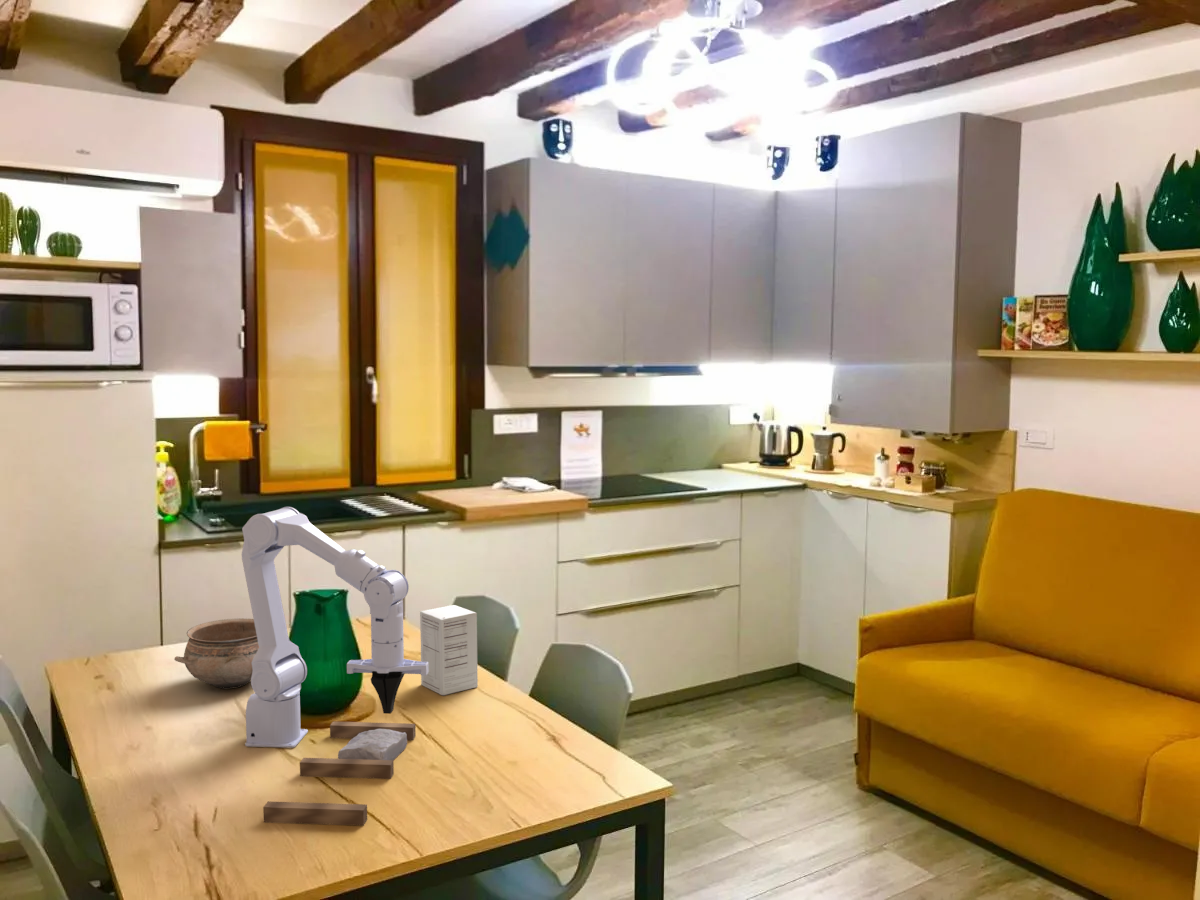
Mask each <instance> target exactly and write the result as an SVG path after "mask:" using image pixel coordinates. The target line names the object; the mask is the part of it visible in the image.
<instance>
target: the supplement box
mask: <svg viewBox="0 0 1200 900" xmlns="http://www.w3.org/2000/svg"><path fill="white" fill-rule="evenodd" d="M419 612H420V613H419V615H420V616H419V620H420V621H419V622H420V623H419V624H420V628H419V629H420V661H421V662H428V667H429V672H428V674H427V675H421V674H420V678H421V679H420V680H421V681H420V683H421V686H423V687H425V688H427V689H429V690H431V691H433V692H434V693H437V694H439V695H441V696H447V695H451V694H454V693H459V692H462V691H467V690H470V689H474V688H478V687H479V685H478V684H479V682H478V613H477V612H475V611H473V610H469V609H467V608H464V607H461V606H459V605H456V604H452V605H451V604H450V605H446V606H442V607H441V606H440V607H435V608H431V609H425V610H420V611H419Z"/></svg>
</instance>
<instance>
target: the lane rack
mask: <svg viewBox="0 0 1200 900" xmlns="http://www.w3.org/2000/svg"><path fill="white" fill-rule="evenodd" d="M375 729H390V730H393V731H398V732H401V733H404V732H405V733H406V734H407V741H414V740H415V738H416V723H407V722H406V723H400V722H399V723H398V722H371V721H370V722H368V721H367V722H365V721H364V722H362V721H332V722H331V723H330V725H329V733H330V734H329V738H330V739H350V740H351V739H353V738H354V737H356V736H357V735H358V734H359V733H362V732H364V731H369V730H375ZM394 764H395V763H394V760H366V759H338V758H327V757H326V758H324V757H303V758H302V759H301V760H300V761H299V776H300V777H315V778H316V777H318V778H321V777H322V778H350V779H351V778H352V779H377V780H378V779H383V780H385V779H387V780H391V779H392V778H393V776H394V774H395V768H394ZM262 811H263V813H262V814H263V818H262V819H263V823H275V824H277V823H278V824H279V823H280V824H306V825H307V824H309V825H337V826H342V825H343V826H365V824H366V822H367V820H368V804H367V803H365V804H362V803H361V804H359V803H330V802H300V801H299V802H297V801H296V802H295V801H270V800H269V801H267V802H266V803H265V805H264V806H263V807H262Z"/></svg>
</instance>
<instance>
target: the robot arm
mask: <svg viewBox="0 0 1200 900" xmlns="http://www.w3.org/2000/svg"><path fill="white" fill-rule="evenodd" d="M241 530H242V535H243V545H242V551H241V561H242V565H243V570H244V571H243V572H244V576H245V577H244V578H245V581H246V586H247V587H246V588H247V591H248V597H249V601H250V607H251V613H252V619H254V624H255V629H256V634H257V639H258V644H259V649H258V651H257V653H256V655H255V656H254V658H253V660H252V669H253V672H252V677H251V681H250V684H251V688H252V690H253V693H252V694H250V696H249V697H248V699H247V702H246V706H245V731H246V732H245V734H246V735H245V736H246V737H245V738H246V739H245V740H246V742H245V743H244V746H245V747H256V748H257V747H259V748H262V747H263V748H288V749H289V748H295V747H296V746H298V745H299V743H300V742H301V741H302V739H303V738H304V737H305V736H306V735H307V733H309V730H308V729H307V728H306V729H305V728H301V696H300V694H301V693H300V692H301V689H302V683H303V682H304V681H305V680H306V678H307V675H308V666H307V664H306V661H305V660H304V659H303V658H302V657H303V656H302V655H301V653H300V649H299V648H300V647H299V646H298V645H297V644H295V643H293V642H292V641H291V640H290V637H289V633H288V627H287V623H286V617H285V613H284V608H283V603H282V596H281V591H280V586H279V580H278V576H277V571H276V564H275V559H276V557H277V556H278V555H279V554H280V552H281V551H282V550H283V549H284V547H288V546H300V547H302V548H304V549H305V550H307V551H308V552H309V553H312V554H313V555H315V556H317V557H318V558H321V559H322V560H324V561H325V562H328V563H329V564H330V565H332V566H333V567H334V570H335V571H334V572H335V575H336V576H337V577H339V578H340V579H341V580H342V581H344V582H346V583H348V584H349V585H350V586H352V587H353V588H355V589H356V590H357V591H359V592H361V593H362V594H363V597H364V600H365V602H366V603H367V605H368V607H369V614H370V634H371V635H370V636H371V638H370V639H371V640H370V643H371V658H368V659H367V658H364V659H350V660H348V661H347V663H346V674H349V675H351V674H354V673H363V674H364V673H365V674H372V675H371V677H370V683H371V685H372V686H373V688H374V690H375V691H376V693H377V696H378V698H379V701H380V703H381V707H382V708H381V709H382V713H383V714H392V713H393V711H394V709H395V708H394V707H395V701H396V697H397V694H398V691H399V688H400V686H401V683H402V680H403V679H404V676H405V675H420V676H421V675H427V674H428V672H429V667H428V662H421V660H413V659H412V660H411V659H408V658H407V659H406V658H404V656H405V654H404V647H405V646H404V643H405V642H404V598H406V596H407V595H408V593H409V590H410V589H409V587H410V586H409V582H408V580H407V578H406V576H405V575H404V574H403V573H402V572H401V571H400V570H397V569H386V568H387V567H386V566H384V565H380V564H378V563H377V562H375V561H374V560H372V559H371V558H369V557H368V556H366V554H367V552H365V551H364V550H362V549H359V550H358V549H355V548H353V549H352V548H351V549H348V550H346V549H344V548H343V546H341V545H339V543H337V542H336V541H334V540H333V539H332V538H330V537H329V536H328V535H327V534H325V533H324V532H323V531H322V530H320V529H319V528H318V527H317V526H315V525H313V524H312V522H310V521H309V519H308V516H307V515H305V514H304V513H302V512H299V511H298V510H297V508H294V507H292V506H284V507H281V508H279V509H276V510H272V511H268V512H265V513H257V514H254V515H252V516H251V517H250V518H249V519H248V520H247V522H246V523H245V524H244V525H243V526H242V529H241Z"/></svg>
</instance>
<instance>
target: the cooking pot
mask: <svg viewBox="0 0 1200 900" xmlns="http://www.w3.org/2000/svg"><path fill="white" fill-rule="evenodd" d="M186 636H187V637H188V641H187V643H186V646H185V648H184V652H183V656H175V657H174V661H175V662H178V663H181V664H184V665H185V667H186V670H187V671H188V672H189V674H190V675H191V676H193V677H194V678H196V679H197V680H198V681H200V682H203V683H206V684H209V685H211V686H213V687H216V688H219V689H225V690H227V689H235V688H240V687H243V686H245V685H247V684H248V683H249V682H251V677H252V672H253V669H252V660H253V658H254V656H255V655H256V653H257V651H258V649H259V644H258V639H257V634H256V629H255V624H254V619H253V618H227V619H226V618H225V619H219V620H218V619H217V620H212V621H207V622H204V623H200V624H198V625H195V626H192V627H191V628H189V629H188V630H187V632H186Z"/></svg>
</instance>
